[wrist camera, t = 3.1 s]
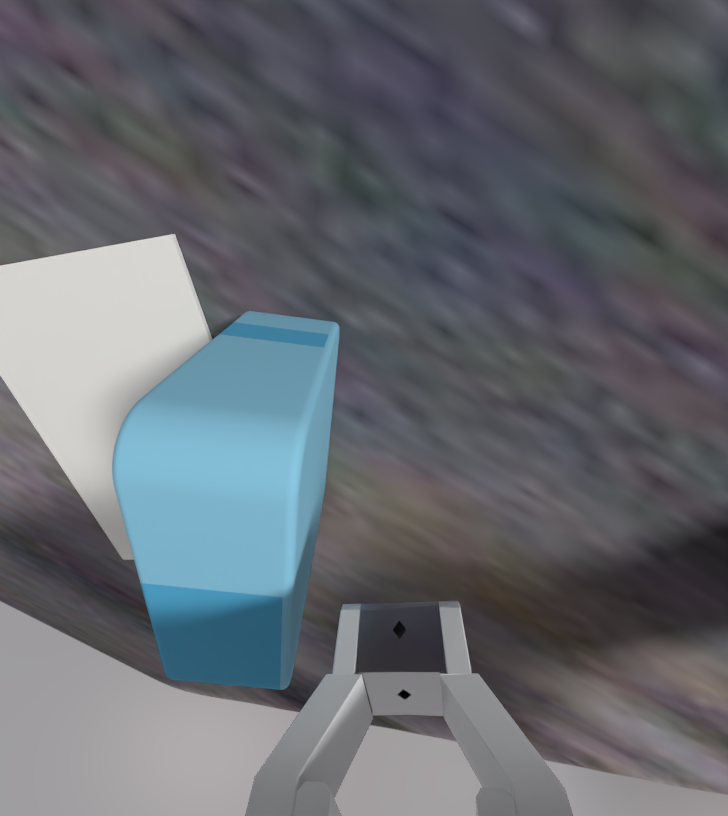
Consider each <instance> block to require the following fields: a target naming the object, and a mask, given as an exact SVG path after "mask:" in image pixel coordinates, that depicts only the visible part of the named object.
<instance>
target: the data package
mask: <svg viewBox="0 0 728 816" xmlns="http://www.w3.org/2000/svg"><path fill="white" fill-rule="evenodd" d="M338 344H339V326H338V324H337V323H336V322H331V321H324V320H316V319H308V318H300V317H293V316H285V315H277V314H270V313H262V312H254V311H248V312H246V313H244V314H243V315H242V316H240V317H239V318H238V319H237V320H236V321H234V322H233V323H232V324H231V325H229V326H228V327H227V328H226V329H225V330H223V331H222V332H221V333H220V334H219V335H217V336H216V337H215V338H214V339H212V340H211V341H210V342H209V343H208V344H206V345H205V346H204V347H203V348H202V349H200V350H199V351H198V352H197V353H195V354H194V355H193V356H192V357H191V358H189V359H188V360H187V361H186V362H185V363H183V364H182V365H181V366H180V367H179V368H177V369H176V370H175V371H174V372H172V373H171V374H170V375H169V376H168V377H166V378H165V379H164V380H163V381H162V382H160V383H159V384H158V385H157V386H155V387H154V388H153V389H152V390H151V391H149V392H148V393H147V394H146V395H145V396H143V397H142V398H141V399H140V400H139V401H138V402H137V403H136V404H135V405H134V406H133V407H132V408H131V410H130V411H129V413H128V414H127V416H126V418H125V420H124V421H123V423H122V426H121V428H120V430H119V433H118V436H117V439H116V443H115V447H114V452H113V461H112V476H113V483H114V488H115V492H116V495H117V499H118V503H119V506H120V510H121V514H122V517H123V521H124V525H125V528H126V532H127V536H128V539H129V543H130V547H131V550H132V554H133V558H134V561H135V565H136V569H137V572H138V576H139V580H140V583H141V587H142V591H143V594H144V598H145V602H146V605H147V609H148V613H149V617H150V620H151V624H152V628H153V631H154V635H155V639H156V642H157V646H158V650H159V653H160V657H161V661H162V664H163V668H164V671H165V674H166V676H167V677H168V678H169V679H171V680H179V681H190V682H201V683H212V684H223V685H234V686H245V687H256V688H267V689H278V690H283V689H285V688H287V687H288V685H289V684H290V681H291V678H292V674H293V669H294V664H295V658H296V653H297V647H298V641H299V635H300V630H301V624H302V618H303V613H304V607H305V601H306V595H307V590H308V584H309V578H310V572H311V567H312V561H313V555H314V550H315V544H316V538H317V532H318V527H319V521H320V515H321V509H322V504H323V497H324V490H325V481H326V472H327V461H328V450H329V440H330V429H331V419H332V408H333V397H334V387H335V376H336V366H337V355H338Z"/></svg>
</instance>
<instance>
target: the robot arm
mask: <svg viewBox="0 0 728 816" xmlns="http://www.w3.org/2000/svg"><path fill="white" fill-rule="evenodd" d="M372 715H428V716H444V719H445V721H446V723H447V725H448V726H449V728H450V730H451V732H452V734H453V735H454V737H455V739H456V741H457V742H458V744H459V746H460V747H461V750H462V751H463V753H464V755H465V757H466V759H467V760H468V762H469V764H470V765H471V767H472V769H473V771H474V773H475V775H476V776H477V778H478V779H479V781H480V784H481V785H482V787H483V788H481V789H480V791H479V793H478V794H477V796H476V816H573V814H572V810H571V807H570V804H569V800H568V797H567V794H566V790H565V788H564V787H563V785H562V784H561V783H560V781H559V780H558V779H557V777H556V776H555V775H554V773H553V772H552V771H551V769H550V768H549V767H548V766H547V764H546V763H545V761H544V760H543V759H542V757H541V756H540V755H539V753H538V752H537V751H536V749H535V748H534V747H533V745H532V744H531V743H530V741H529V740H528V739H527V737H526V736H525V735H524V733H523V732H522V731H521V729H520V728H519V727H518V725H517V724H516V723H515V721H514V720H513V719H512V717H511V716H510V715H509V714H508V712H507V711H506V710H505V708H504V707H503V706H502V704H501V703H500V702H499V700H498V699H497V698H496V696H495V695H494V694H493V692H492V691H491V690H490V688H489V687H488V686H487V684H486V683H485V682H484V680H483V679H482V678H481V676H480V675H479V674H478V673H472V671H471V665H470V660H469V654H468V648H467V642H466V637H465V631H464V625H463V620H462V614H461V608H460V604H459V602H458V601H439V602H438V601H425V602H404V603H383V604H343V605H342V608H341V611H340V618H339V626H338V633H337V641H336V648H335V655H334V663H333V670H332V674H326V675H325V677H324V678H323V679H322V681H321V682H320V684H319V685H318V687H317V688H316V689H315V691H314V692H313V694H312V695H311V697H310V698H309V700H308V701H307V702H306V704H305V705H304V707H303V708H302V710H301V711H300V712H299V714H298V715H297V717H296V718H295V720H294V721H293V723H292V724H291V725H290V727H289V728H288V730H287V731H286V733H285V734H284V736H283V737H282V738H281V740H280V741H279V743H278V744H277V745H276V747H275V749H274V750H273V751H272V753H271V754H270V756H269V757H268V758H267V760H266V761H265V763H264V764H263V766H262V767H261V768H260V770H259V772H258V773H257V774H256V776H255V778H254V782H253V786H252V790H251V794H250V798H249V802H248V806H247V810H246V814H245V816H342V815H341V813H340V811H339V808H338V806H337V804H336V802H335V799H334V798H335V796H336V794H337V792H338V790H339V788H340V786H341V783H342V781H343V779H344V777H345V775H346V773H347V771H348V769H349V767H350V765H351V762H352V761H353V759H354V757H355V755H356V753H357V750H358V748H359V746H360V744H361V742H362V740H363V738H364V736H365V734H366V732H367V730H368V728H369V726H370V724H371V722H372V720H373V716H372Z"/></svg>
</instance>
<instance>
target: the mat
mask: <svg viewBox="0 0 728 816" xmlns="http://www.w3.org/2000/svg"><path fill="white" fill-rule="evenodd" d="M211 340H212V337H211V334H210V331H209V328H208V325H207V323H206V320H205V317H204V314H203V311H202V309H201V306H200V303H199V300H198V297H197V295H196V292H195V289H194V286H193V283H192V281H191V278H190V275H189V272H188V269H187V267H186V264H185V261H184V258H183V255H182V253H181V250H180V247H179V244H178V241H177V239H176V236H175V234H172V235H166V236H161V237H155V238H150V239H144V240H139V241H133V242H128V243H122V244H117V245H111V246H106V247H100V248H95V249H90V250H84V251H79V252H73V253H68V254H62V255H57V256H51V257H46V258H40V259H35V260H29V261H24V262H19V263H13V264H8V265H2V266H0V376H1V377H2V379H3V380H4V382H5V383H6V385H7V386H8V388H9V389H10V391H11V392H12V394H13V395H14V397H15V398H16V400H17V401H18V403H19V404H20V406H21V407H22V409H23V410H24V412H25V413H26V415H27V416H28V418H29V419H30V421H31V422H32V424H33V425H34V427H35V428H36V430H37V431H38V433H39V434H40V436H41V437H42V439H43V440H44V442H45V443H46V445H47V446H48V448H49V449H50V451H51V452H52V454H53V455H54V457H55V458H56V460H57V461H58V463H59V464H60V466H61V467H62V469H63V470H64V472H65V473H66V475H67V476H68V478H69V479H70V481H71V482H72V484H73V485H74V487H75V488H76V490H77V491H78V493H79V494H80V496H81V497H82V499H83V500H84V502H85V503H86V505H87V506H88V508H89V509H90V511H91V512H92V514H93V515H94V517H95V518H96V520H97V521H98V523H99V524H100V526H101V527H102V529H103V530H104V532H105V533H106V535H107V536H108V538H109V539H110V541H111V542H112V544H113V545H114V547H115V548H116V550H117V551H118V553H119V554H120V556H121V557H122V559H123V560H134V558H133V554H132V550H131V547H130V543H129V539H128V536H127V532H126V528H125V525H124V521H123V517H122V514H121V510H120V506H119V503H118V499H117V495H116V492H115V488H114V483H113V476H112V461H113V452H114V447H115V443H116V439H117V436H118V433H119V430H120V428H121V426H122V423H123V421H124V420H125V418H126V416H127V414H128V413H129V411H130V410H131V408H132V407H133V406H134V405H135V404H136V403H137V402H138V401H139V400H140V399H141V398H142V397H143V396H145V395H146V394H147V393H148V392H149V391H151V390H152V389H153V388H154V387H155V386H157V385H158V384H159V383H160V382H162V381H163V380H164V379H165V378H166V377H168V376H169V375H170V374H171V373H172V372H174V371H175V370H176V369H177V368H179V367H180V366H181V365H182V364H183V363H185V362H186V361H187V360H188V359H189V358H191V357H192V356H193V355H194V354H195V353H197V352H198V351H199V350H200V349H202V348H203V347H204V346H205V345H206V344H208V343H209V342H210V341H211Z"/></svg>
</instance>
